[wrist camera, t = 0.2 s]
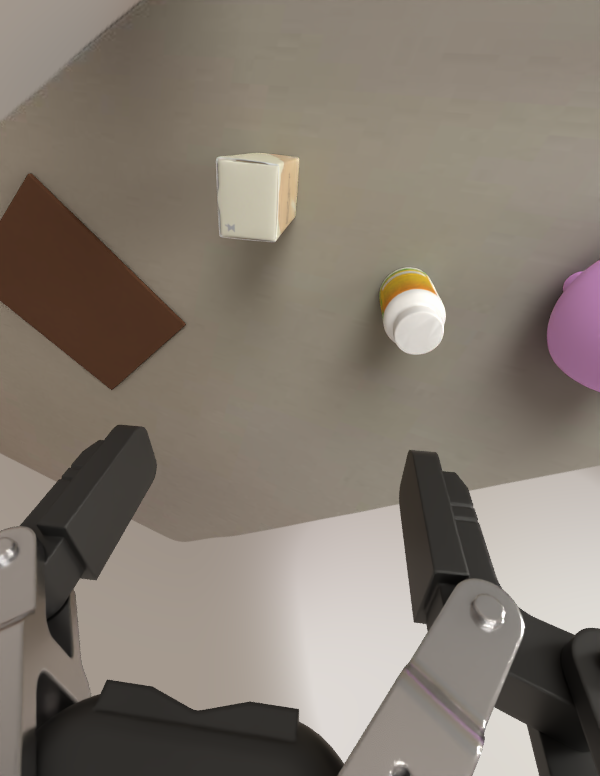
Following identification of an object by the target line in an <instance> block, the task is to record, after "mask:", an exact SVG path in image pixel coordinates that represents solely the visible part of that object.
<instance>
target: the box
mask: <svg viewBox="0 0 600 776" xmlns="http://www.w3.org/2000/svg"><path fill="white" fill-rule="evenodd" d="M298 174H299V158H298V157H291V156H284V155H276V154H266V153H249V154H241V155H232V156H219V157H217V159H216V182H217V204H218V220H219V235H220V237H225V238H233V239H241V240H250V241H262V242H276V240H277V239H278V238H279V236H280V235H281V234H282V233H283V231H284V230H285V229H286V228H287V226H288V225H289V224H290V223H291V221H292V220H293V219H294V217H295V215H296V204H297V190H298Z"/></svg>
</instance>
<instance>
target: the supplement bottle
mask: <svg viewBox="0 0 600 776" xmlns="http://www.w3.org/2000/svg"><path fill="white" fill-rule="evenodd" d="M379 300H380V306H381V312H382V318H383V325H384V329H385V331H386V333H387V335H388V337H389V338H390V339H391V340H392V341H393V342H395V343H396V344H397V346H398V347H399V348H400V349H401V350H402V351H404V352H406V353H408V354H412V355H419V354H425V353H427V352H429V351H431V350H433V349H434V348H435V347H437V345H438V344H439V343H440V342H441V340H442V337H443V334H444V327H443V326H444V323H445V318H446V313H445V308H444V305H443V303H442V301H441V299H440V297H439V295H438V293H437V291H436V289H435V287H434V285H433V283H432V282H431V280H430V278H429V277H428V275H427V274H425V273H424V272H423V271H421V270H419V269H416V268H411V267H407V268H401V269H398V270H396V271H394V272H392V273H391V274H390V275H388V276H387V278H386V279H385V280H384V281H383V283H382V285H381V288H380V291H379Z"/></svg>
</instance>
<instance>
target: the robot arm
mask: <svg viewBox="0 0 600 776" xmlns="http://www.w3.org/2000/svg"><path fill="white" fill-rule="evenodd" d="M156 468H157V464H156V459H155V456H154V452H153V449H152V446H151V443H150V440H149V436H148V433H147V430H146V429H145V428H144V427H140V426H128V425H117V426H116V427H114V429H113V430H112V431H111V432H110V433H109V435H108V436H107V437H106V438H105V440H99V441H97V442H96V443H94V444H93V445H91V446H90V447H88V448H87V449H86V450H84V451H83V452H82V453H81V454H80V455H79V457H78V458H77V459H76V460H75V461H74V462H73V464H72V465H71V468H68V470H67V471H66V472H65V473H64V474H63V475H62V479H59V480H58V481H57V483H56V484H55V485H54V486H53V487H52V489H51V490H50V491H49V492H48V493H47V494H46V496H45V497H44V498H43V499H42V500H41V501H40V503H39V504H38V505H37V506H36V507H35V509H34V510H33V511H32V512H31V513H30V514H29V516H28V517H27V518H26V519H25V520H24V522H23V523H22V524H21V525H20V526H17V527H11V528H7V529H4V530H1V531H0V776H472V775H473V772H474V770H475V767H476V765H477V763H478V760H479V757H480V754H481V752H482V748H483V745H484V740H485V737H484V732H485V728H486V725H487V723H488V720H489V718H490V715H491V713H492V711H493V708H494V707H495V708H497V709H499V710H501V711H503V712H505V713H506V714H508V715H510V716H512V717H514V718H516V719H518V720H519V721H521V722H523V723H525V724H527V727H528V731H529V735H530V739H531V743H532V747H533V752H534V756H535V760H536V764H537V768H538V772H539V776H600V629H598V628H586V629H583V630H581V631H579V632H578V633H577V634H576V635H573V634H571V633H569V632H567V631H564V630H562V629H560V628H557V627H555V626H553V625H550V624H548V623H546V622H544V621H541V620H539V619H537V618H535V617H533V616H531V615H529V614H527V613H526V612H524V611H523V610H522V609H520V608H519V607H518V606H517V605H516V604H515V602H514V600H513V599H512V598H511V597H510V596H509V595H508V594H507V593H506V592H505V591H504V590H503V589H502V588H501V586H500V584H499V583H498V580H497V578H496V575H495V572H494V568H493V565H492V562H491V559H490V556H489V553H488V550H487V546H486V543H485V540H484V537H483V534H482V531H481V528H480V525H479V523H478V521H477V520H478V518H477V515H476V512H475V510H474V508H473V503H472V500H471V497H470V493H469V490H468V488H467V486H466V485H465V484H464V483H463V481H462V480H461V479H460V478H459V476H458V475H457V474H456V473H455V472H444V471H442V468H441V464H440V460H439V457H438V454H437V453H436V452H427V451H415V450H409V452H408V455H407V459H406V463H405V467H404V472H403V476H402V480H401V484H400V492H399V505H400V513H401V521H402V529H403V538H404V545H405V553H406V562H407V570H408V578H409V586H410V594H411V603H412V611H413V618H414V622H416V623H423V624H427V630H428V633H427V634H426V636H425V638H424V639H423V641H422V643H421V644H420V646H419V647H418V649H417V651H416V652H415V654H414V655H413V657H412V659H411V660H410V662H409V663H408V664H407V665H406V666H405V667H404V669H403V670H402V672H401V673H400V675H399V676H398V678H397V679H396V681H395V683H394V684H393V686H392V688H391V689H390V691H389V692H388V694H387V696H386V697H385V699H384V701H383V702H382V704H381V705H380V707H379V709H378V710H377V712H376V713H375V715H374V717H373V718H372V720H371V722H370V724H369V725H368V726H367V728H366V730H365V732H364V733H363V735H362V736H361V738H360V740H359V741H358V743H357V745H356V746H355V748H354V749H353V751H352V752H351V754H350V756H349V757H348V759H347V761H346V762H345V764H344V763H343V762H342V760H341V759H340V757H339V756H338V755H337V753H336V752H335V751H334V750H333V748H332V747H331V746H330V745H329V744H328V743H327V742H326V741H325V740H324V739H323V738H322V737H321V736H320V735H319V734H317V733H316V732H315V731H313V730H312V729H311V728H309V727H308V726H306V725H304V724H302V723H300V722H299V709H294V708H288V707H281V706H275V705H268V704H262V703H255V702H246V703H240V704H234V705H229V706H223V707H217V708H212V709H206V710H199V711H197V710H193V709H191V708H189V707H187V706H185V705H184V704H182V703H180V702H178V701H177V700H175V699H173V698H171V697H170V696H168V695H166V694H164V693H163V692H161V691H159V690H157V689H156V688H154V687H151V686H145V685H138V684H132V683H125V682H119V681H113V680H107V681H106V683H105V685H104V688H103V690H102V692H101V694H99V695H96V696H93V697H91V693H90V688H89V684H88V680H87V677H86V675H85V672H84V669H83V666H82V661H81V655H80V654H81V653H80V641H79V630H78V618H77V606H76V595H75V591H74V587H75V585H76V584H77V582H78V580H79V579H80V578H82V579H90V580H97V578H98V576H99V575H100V573H101V571H102V569H103V567H104V566H105V564H106V562H107V561H108V559H109V557H110V555H111V554H112V552H113V550H114V548H115V546H116V545H117V543H118V541H119V540H120V538H121V536H122V534H123V532H124V531H125V529H126V527H127V526H128V524H129V522H130V520H131V519H132V517H133V515H134V514H135V512H136V510H137V508H138V507H139V505H140V503H141V501H142V500H143V498H144V496H145V494H146V493H147V491H148V489H149V487H150V486H151V484H152V482H153V480H154V478H155V474H156Z"/></svg>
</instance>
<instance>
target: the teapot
mask: <svg viewBox="0 0 600 776" xmlns="http://www.w3.org/2000/svg"><path fill="white" fill-rule="evenodd" d="M563 291H564V292H563V293H562V295H561V296H560V298H559V299H558V301H557V303H556V305H555V307H554V308H553V311H552V313H551V316H550V319H549V323H548V327H547V343H548V349H549V352H550V355H551V357H552V359H553V361H554V362H555V363H556V365H557V366H558V367H559V368H560V369H561V370H562V371H563V372H564V373H565V374H567V375H568V376H569V377H571V378H572V379H574V380H575V381H577V382H579V383H580V384H582V385H584V386H586V387H588V388H590V389H593V390H595V391H598V392H600V260H598V261H597V262H595V263H594V264H593V265H591V266H590V267H588V268H587V269H586V270H585V271H582V272H577V273H574V274H572V275H571V276H569V277H568V278H567V280H566V281H565V283H564V285H563Z"/></svg>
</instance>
